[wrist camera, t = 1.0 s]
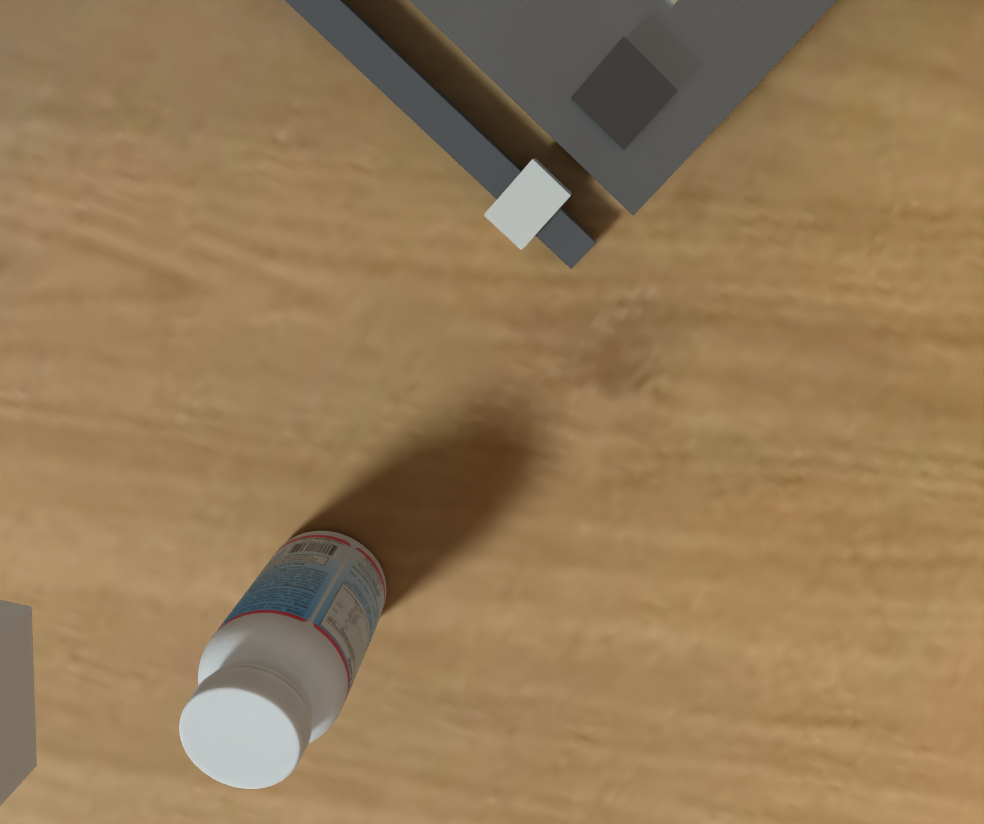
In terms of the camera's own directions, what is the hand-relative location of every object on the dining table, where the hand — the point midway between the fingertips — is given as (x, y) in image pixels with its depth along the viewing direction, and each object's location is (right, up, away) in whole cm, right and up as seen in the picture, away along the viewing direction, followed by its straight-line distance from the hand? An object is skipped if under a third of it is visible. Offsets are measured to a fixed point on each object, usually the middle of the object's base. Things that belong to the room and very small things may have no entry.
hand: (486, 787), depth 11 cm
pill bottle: (-8, -3, +29) cm, 30 cm away
